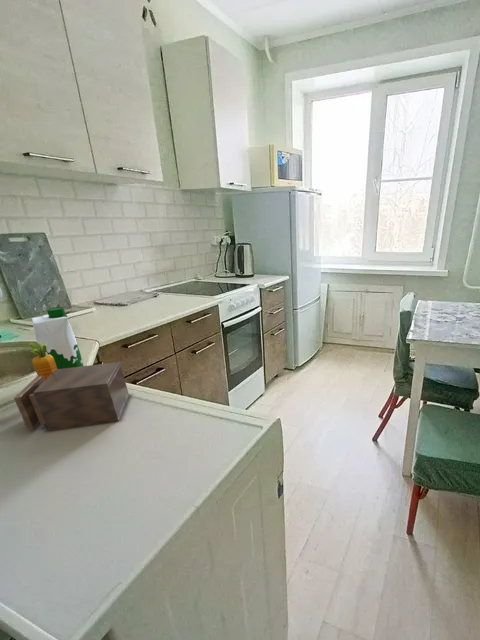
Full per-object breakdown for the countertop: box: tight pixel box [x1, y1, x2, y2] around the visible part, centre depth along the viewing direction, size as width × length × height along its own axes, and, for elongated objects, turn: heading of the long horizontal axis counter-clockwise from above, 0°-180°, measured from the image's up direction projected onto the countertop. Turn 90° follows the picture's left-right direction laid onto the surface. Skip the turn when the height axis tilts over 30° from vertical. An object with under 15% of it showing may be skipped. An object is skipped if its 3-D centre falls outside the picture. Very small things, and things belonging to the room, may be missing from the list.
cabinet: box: [33, 361, 130, 432], centre depth 82 cm, size 15×13×10 cm
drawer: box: [13, 375, 48, 430], centre depth 81 cm, size 15×11×8 cm
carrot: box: [28, 342, 57, 381], centre depth 90 cm, size 5×5×15 cm
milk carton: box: [31, 306, 84, 369], centre depth 100 cm, size 9×9×20 cm
